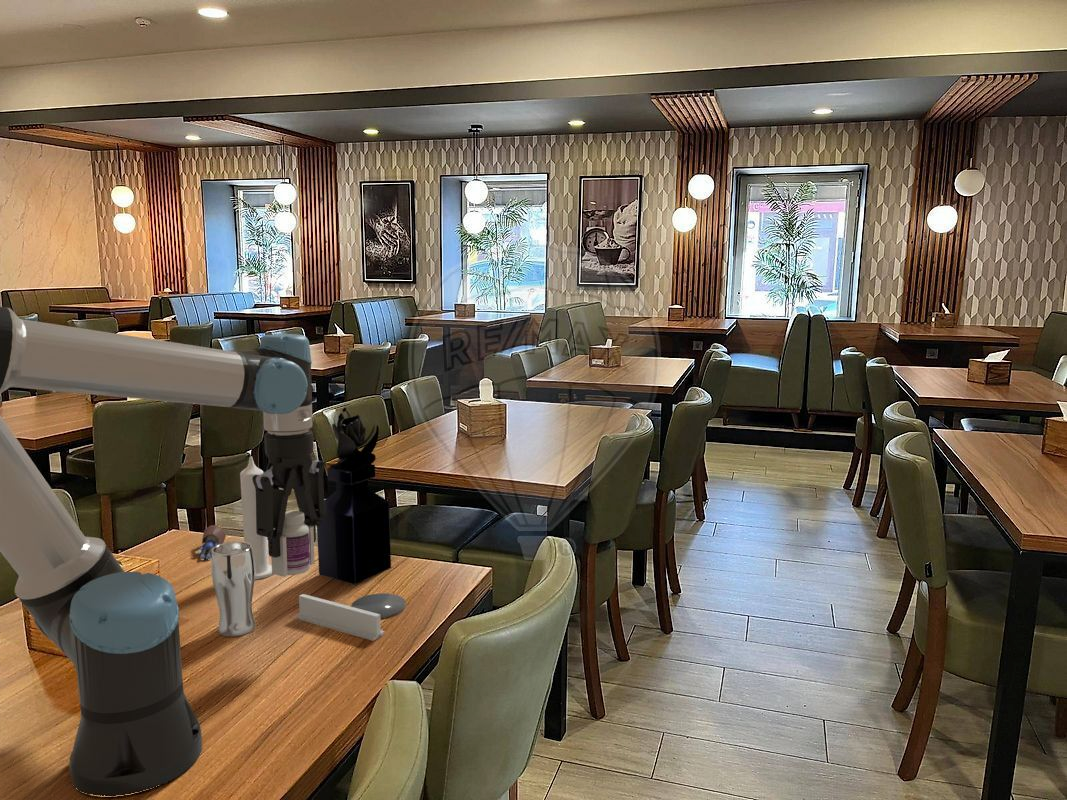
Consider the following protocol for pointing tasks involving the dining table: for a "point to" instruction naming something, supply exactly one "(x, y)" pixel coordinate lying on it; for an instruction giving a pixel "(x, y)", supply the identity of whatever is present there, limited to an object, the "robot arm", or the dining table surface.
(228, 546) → the beer glass
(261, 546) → the candle
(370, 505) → the vase
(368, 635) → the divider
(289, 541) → the pill bottle
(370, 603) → the coaster
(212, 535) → the figurine
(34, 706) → the dining table surface
